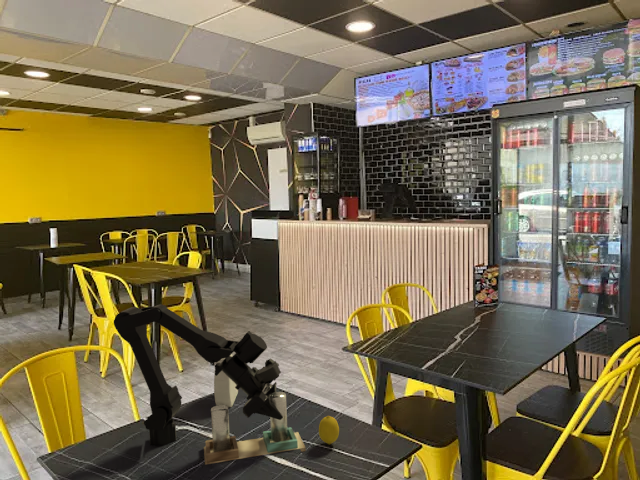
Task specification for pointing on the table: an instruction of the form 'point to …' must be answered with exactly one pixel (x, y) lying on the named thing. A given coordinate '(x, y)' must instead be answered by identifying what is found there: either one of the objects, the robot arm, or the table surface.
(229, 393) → the soap bottle
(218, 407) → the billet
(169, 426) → the robot arm
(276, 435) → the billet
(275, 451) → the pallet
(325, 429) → the lemon
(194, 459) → the table surface
